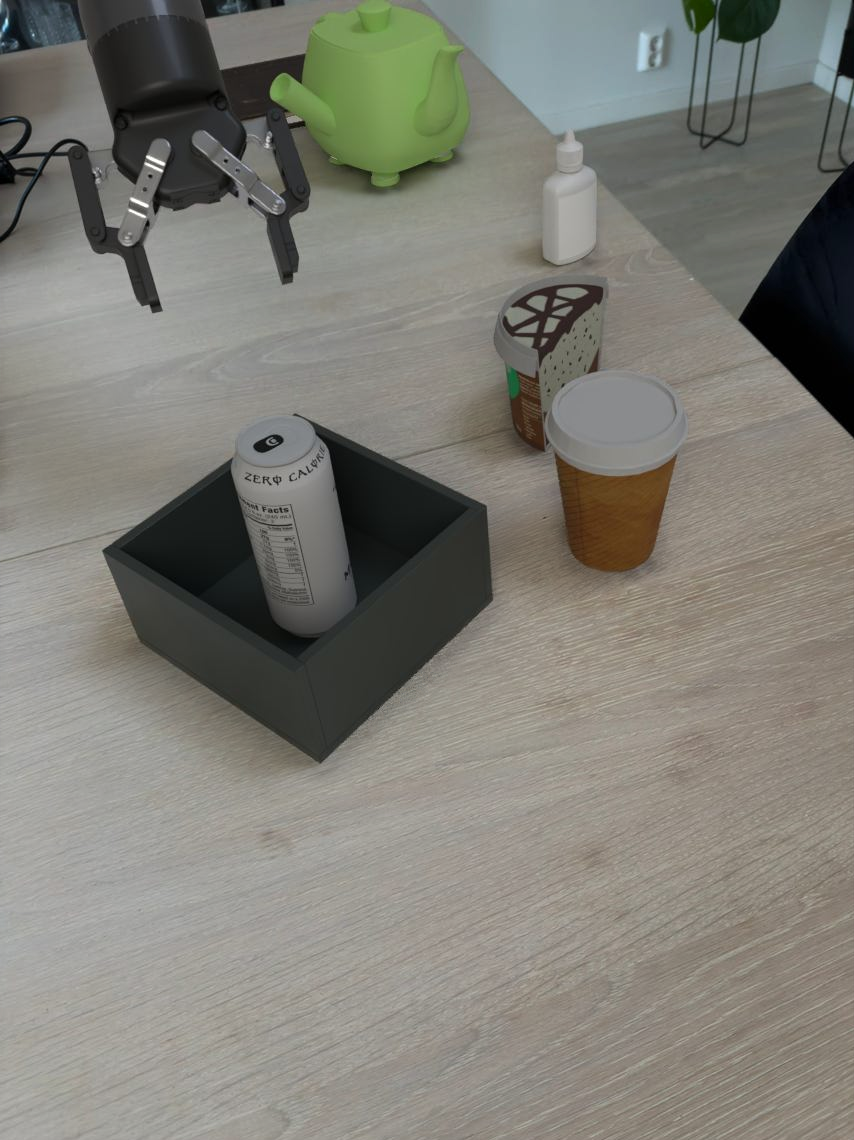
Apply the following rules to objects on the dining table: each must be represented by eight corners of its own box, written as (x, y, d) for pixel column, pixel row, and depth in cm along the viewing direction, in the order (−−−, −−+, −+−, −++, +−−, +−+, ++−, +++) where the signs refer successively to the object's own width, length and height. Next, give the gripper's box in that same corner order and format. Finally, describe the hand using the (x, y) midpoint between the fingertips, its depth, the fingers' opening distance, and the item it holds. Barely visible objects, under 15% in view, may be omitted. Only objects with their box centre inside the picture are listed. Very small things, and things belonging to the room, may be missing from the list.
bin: (320, 764, 71) (295, 673, 64) (139, 642, 79) (101, 550, 72) (493, 600, 80) (487, 505, 73) (315, 505, 88) (295, 412, 81)
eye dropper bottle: (603, 259, 110) (606, 136, 101) (547, 269, 109) (545, 145, 100) (591, 238, 113) (593, 116, 104) (536, 247, 112) (533, 125, 103)
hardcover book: (356, 114, 135) (354, 95, 134) (166, 154, 131) (161, 134, 129) (323, 67, 146) (320, 48, 144) (145, 102, 141) (140, 83, 140)
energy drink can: (375, 613, 78) (344, 439, 67) (303, 657, 76) (258, 484, 65) (327, 569, 82) (289, 396, 70) (256, 609, 79) (206, 437, 68)
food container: (543, 362, 99) (541, 256, 91) (606, 380, 96) (609, 273, 89) (469, 440, 92) (461, 333, 84) (536, 462, 90) (533, 354, 82)
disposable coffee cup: (640, 486, 87) (649, 352, 78) (700, 564, 81) (717, 428, 72) (526, 521, 85) (521, 387, 76) (579, 604, 79) (580, 469, 70)
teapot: (237, 168, 127) (204, 17, 116) (386, 106, 136) (370, -40, 125) (373, 245, 114) (351, 82, 102) (528, 171, 123) (525, 13, 111)
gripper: (23, 32, 66) (104, 303, 67) (261, -9, 69) (334, 252, 70) (47, 92, 74) (119, 335, 75) (260, 52, 76) (327, 288, 77)
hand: (223, 294), depth 72 cm, fingers open, 8 cm apart
